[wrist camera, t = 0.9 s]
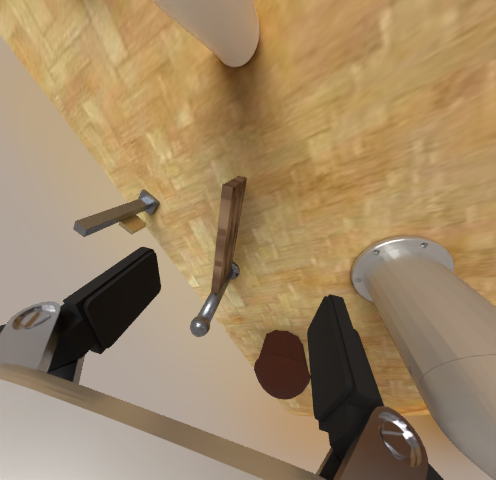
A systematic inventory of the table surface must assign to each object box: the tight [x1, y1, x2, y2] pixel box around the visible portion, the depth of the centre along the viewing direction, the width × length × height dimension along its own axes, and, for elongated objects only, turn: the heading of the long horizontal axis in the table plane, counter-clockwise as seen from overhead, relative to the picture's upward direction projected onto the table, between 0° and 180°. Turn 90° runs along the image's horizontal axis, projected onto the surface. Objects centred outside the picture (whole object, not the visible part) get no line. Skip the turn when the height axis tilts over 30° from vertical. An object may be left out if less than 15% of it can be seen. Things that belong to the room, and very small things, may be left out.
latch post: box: [74, 190, 159, 237], centre depth 27 cm, size 5×3×12 cm
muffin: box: [254, 330, 311, 399], centre depth 38 cm, size 12×11×10 cm
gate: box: [211, 176, 247, 294], centre depth 26 cm, size 16×1×6 cm, turn 169°
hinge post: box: [190, 262, 239, 337], centre depth 29 cm, size 4×4×14 cm
